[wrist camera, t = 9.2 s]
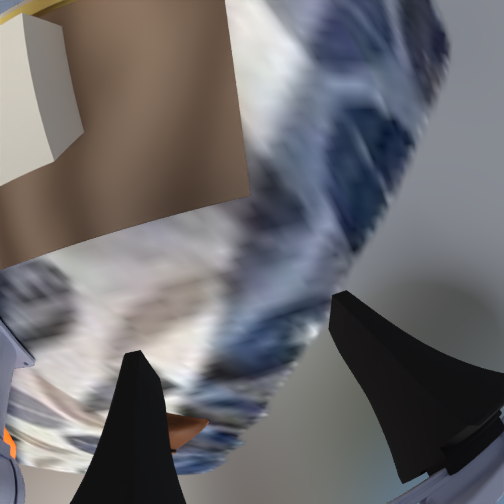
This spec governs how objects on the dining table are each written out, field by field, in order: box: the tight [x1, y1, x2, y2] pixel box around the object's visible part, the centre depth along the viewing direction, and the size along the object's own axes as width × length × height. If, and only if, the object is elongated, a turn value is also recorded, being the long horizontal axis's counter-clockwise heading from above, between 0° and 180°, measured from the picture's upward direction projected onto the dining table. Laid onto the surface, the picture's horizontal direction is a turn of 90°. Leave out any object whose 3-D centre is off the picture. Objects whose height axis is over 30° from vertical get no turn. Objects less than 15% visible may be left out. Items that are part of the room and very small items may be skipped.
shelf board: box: [0, 0, 251, 270], centre depth 11 cm, size 18×14×2 cm
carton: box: [0, 13, 84, 186], centre depth 8 cm, size 4×6×5 cm, turn 7°
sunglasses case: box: [166, 413, 209, 455], centre depth 33 cm, size 18×7×7 cm, turn 139°
